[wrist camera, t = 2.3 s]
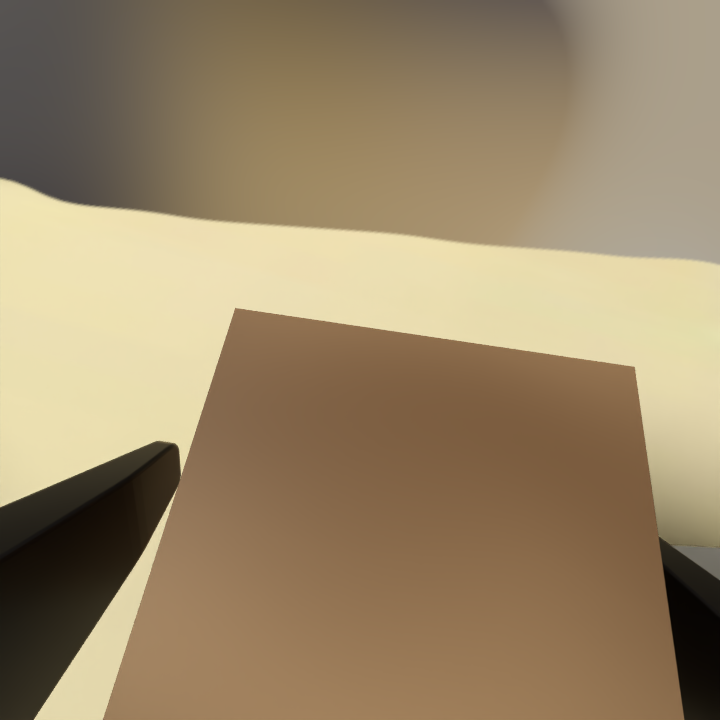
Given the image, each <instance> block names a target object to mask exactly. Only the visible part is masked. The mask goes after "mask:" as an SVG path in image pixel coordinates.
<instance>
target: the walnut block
mask: <svg viewBox="0 0 720 720" xmlns="http://www.w3.org/2000/svg"><path fill="white" fill-rule="evenodd" d="M103 720H684V714H683V707H682V700H681V693H680V686H679V679H678V672H677V665H676V657H675V650H674V643H673V636H672V629H671V622H670V615H669V608H668V601H667V594H666V587H665V580H664V572H663V565H662V558H661V551H660V544H659V537H658V530H657V523H656V516H655V509H654V502H653V495H652V487H651V480H650V473H649V466H648V459H647V452H646V445H645V438H644V431H643V424H642V417H641V410H640V402H639V395H638V388H637V381H636V374H635V367H631V366H624V365H618V364H611V363H604V362H597V361H590V360H584V359H577V358H570V357H563V356H556V355H550V354H543V353H536V352H529V351H523V350H516V349H509V348H502V347H495V346H489V345H482V344H475V343H468V342H461V341H455V340H448V339H441V338H434V337H427V336H421V335H414V334H407V333H400V332H394V331H387V330H380V329H373V328H366V327H360V326H353V325H346V324H339V323H332V322H326V321H319V320H312V319H305V318H299V317H292V316H285V315H278V314H271V313H265V312H258V311H251V310H244V309H237V308H235V311H234V314H233V317H232V320H231V323H230V326H229V330H228V333H227V336H226V339H225V342H224V345H223V348H222V351H221V354H220V358H219V361H218V364H217V367H216V370H215V373H214V376H213V379H212V382H211V386H210V389H209V392H208V395H207V398H206V401H205V404H204V407H203V410H202V414H201V417H200V420H199V423H198V426H197V429H196V432H195V435H194V438H193V441H192V445H191V448H190V451H189V454H188V457H187V460H186V463H185V466H184V469H183V473H182V476H181V479H180V482H179V485H178V488H177V491H176V494H175V497H174V501H173V504H172V507H171V510H170V513H169V516H168V519H167V522H166V525H165V529H164V532H163V535H162V538H161V541H160V544H159V547H158V550H157V553H156V557H155V560H154V563H153V566H152V569H151V572H150V575H149V578H148V581H147V584H146V588H145V591H144V594H143V597H142V600H141V603H140V606H139V609H138V612H137V616H136V619H135V622H134V625H133V628H132V631H131V634H130V637H129V640H128V644H127V647H126V650H125V653H124V656H123V659H122V662H121V665H120V668H119V672H118V675H117V678H116V681H115V684H114V687H113V690H112V693H111V696H110V700H109V703H108V706H107V709H106V712H105V715H104V718H103Z"/></svg>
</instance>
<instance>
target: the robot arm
mask: <svg viewBox="0 0 720 720" xmlns="http://www.w3.org/2000/svg"><path fill="white" fill-rule="evenodd" d="M180 478H181V469H180V456H179V448H178V446H177V445H176V444H175V443H170V442H163V441H156V442H153V443H151V444H148V445H146V446H144V447H141V448H139V449H137V450H134V451H132V452H130V453H127V454H125V455H123V456H120V457H118V458H115V459H113V460H111V461H108V462H106V463H104V464H101V465H99V466H97V467H94V468H92V469H90V470H87V471H85V472H83V473H80V474H78V475H75V476H73V477H71V478H68V479H66V480H64V481H61V482H59V483H57V484H54V485H52V486H50V487H47V488H45V489H42V490H40V491H38V492H35V493H33V494H31V495H28V496H26V497H24V498H21V499H19V500H16V501H14V502H12V503H9V504H7V505H5V506H2V507H0V720H34V718H35V717H36V715H37V714H38V712H39V711H40V709H41V708H42V706H43V705H44V703H45V702H46V700H47V699H48V697H49V696H50V694H51V693H52V691H53V689H54V688H55V686H56V685H57V683H58V682H59V680H60V679H61V677H62V676H63V674H64V673H65V671H66V670H67V668H68V667H69V665H70V664H71V662H72V661H73V659H74V657H75V656H76V654H77V653H78V651H79V650H80V648H81V647H82V645H83V644H84V642H85V641H86V639H87V638H88V636H89V635H90V633H91V632H92V630H93V629H94V627H95V625H96V624H97V622H98V621H99V619H100V618H101V616H102V615H103V613H104V612H105V610H106V609H107V607H108V606H109V604H110V603H111V601H112V600H113V598H114V597H115V595H116V593H117V592H118V590H119V589H120V587H121V586H122V584H123V583H124V581H125V580H126V578H127V577H128V575H129V574H130V572H131V571H132V569H133V568H134V566H135V565H136V563H137V561H138V560H139V558H140V557H141V555H142V553H143V552H144V550H145V548H146V546H147V544H148V543H149V541H150V539H151V537H152V535H153V533H154V531H155V529H156V527H157V525H158V523H159V522H160V520H161V518H162V516H163V514H164V512H165V510H166V508H167V506H168V504H169V502H170V501H171V499H172V497H173V495H174V493H175V491H176V489H177V487H178V485H179V482H180ZM658 537H659V536H658ZM659 544H660V551H661V558H662V565H663V572H664V580H665V587H666V594H667V601H668V608H669V615H670V622H671V629H672V636H673V643H674V650H675V657H676V665H677V672H678V679H679V686H680V693H681V700H682V707H683V714H684V720H720V580H719V579H718V578H716V577H715V576H714V575H712V574H711V573H709V572H708V571H707V570H705V569H704V568H702V567H701V566H699V565H698V564H697V563H695V562H694V561H692V560H691V559H690V558H688V557H687V556H685V555H684V554H683V553H681V552H680V551H678V550H677V549H676V548H674V547H673V546H671V545H670V544H668V543H667V542H666V541H664V540H663V539H661V538H660V537H659Z"/></svg>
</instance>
